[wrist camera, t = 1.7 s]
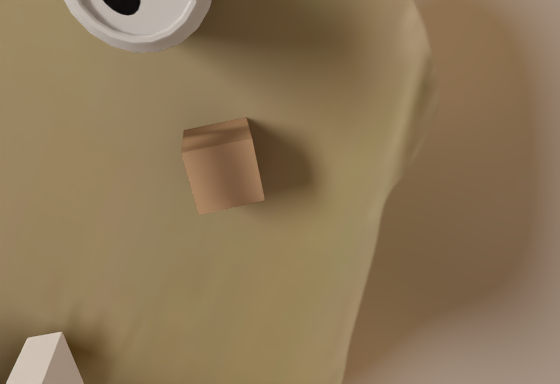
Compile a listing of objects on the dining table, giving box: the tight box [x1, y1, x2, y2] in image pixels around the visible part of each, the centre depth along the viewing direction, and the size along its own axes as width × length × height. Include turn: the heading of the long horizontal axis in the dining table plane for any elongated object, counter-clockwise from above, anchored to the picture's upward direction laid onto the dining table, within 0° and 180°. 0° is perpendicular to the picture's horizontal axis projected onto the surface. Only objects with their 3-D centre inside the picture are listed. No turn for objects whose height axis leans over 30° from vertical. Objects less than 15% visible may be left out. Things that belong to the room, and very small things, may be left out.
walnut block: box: [181, 117, 265, 215], centre depth 36 cm, size 5×5×5 cm
